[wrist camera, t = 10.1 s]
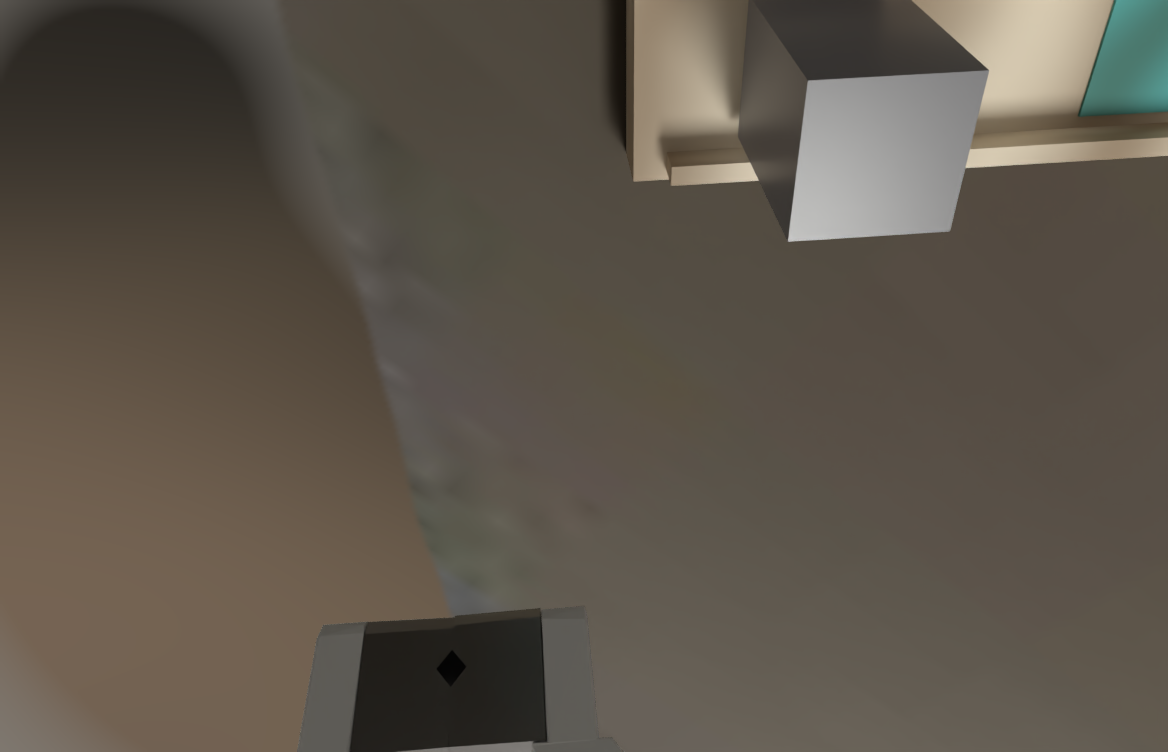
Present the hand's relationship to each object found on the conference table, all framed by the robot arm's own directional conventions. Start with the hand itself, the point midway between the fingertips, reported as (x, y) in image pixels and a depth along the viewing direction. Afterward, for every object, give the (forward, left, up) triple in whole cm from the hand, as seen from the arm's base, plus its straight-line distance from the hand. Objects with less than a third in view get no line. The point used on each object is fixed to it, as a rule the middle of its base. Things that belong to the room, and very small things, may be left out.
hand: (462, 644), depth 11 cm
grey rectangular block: (-9, +1, -19) cm, 21 cm away
